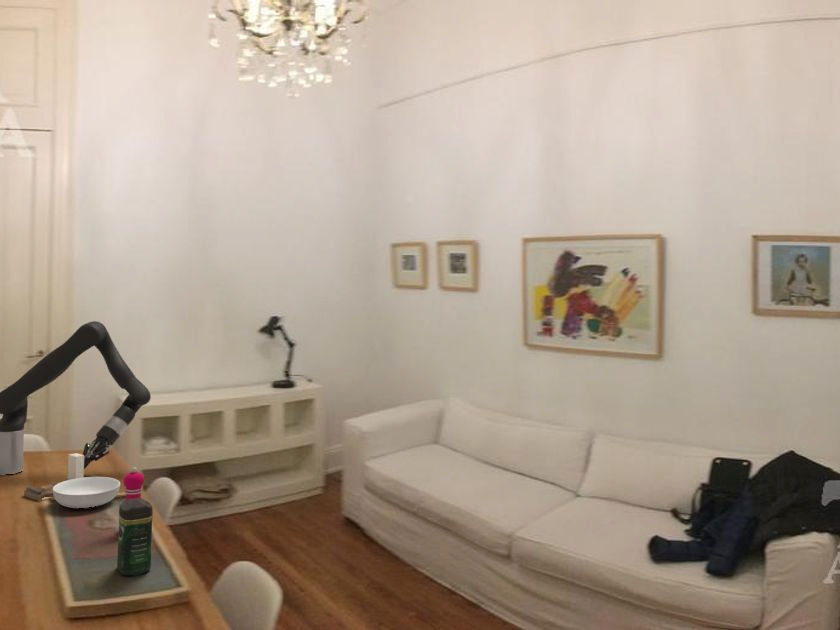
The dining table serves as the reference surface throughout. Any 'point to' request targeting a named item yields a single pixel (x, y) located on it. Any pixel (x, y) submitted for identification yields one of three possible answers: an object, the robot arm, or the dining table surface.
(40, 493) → the brown flat rectangular board
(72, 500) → the serving bowl
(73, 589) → the dining table surface
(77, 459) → the block
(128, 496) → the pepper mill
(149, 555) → the green labelled bottle
